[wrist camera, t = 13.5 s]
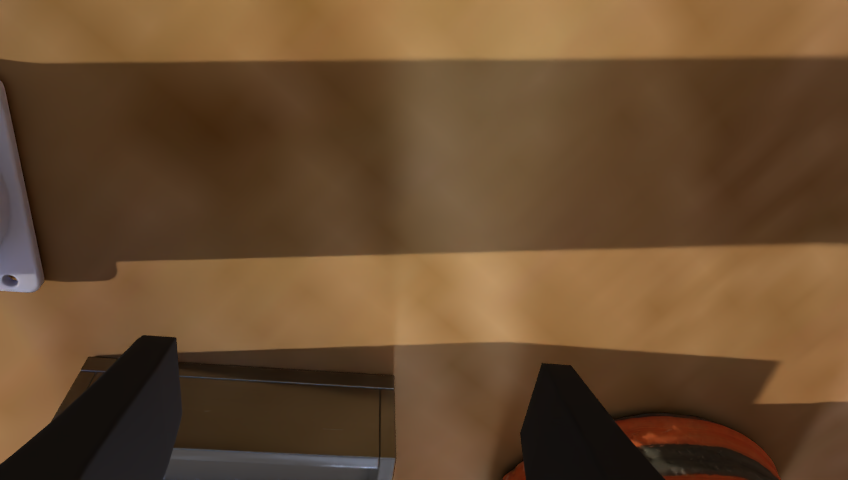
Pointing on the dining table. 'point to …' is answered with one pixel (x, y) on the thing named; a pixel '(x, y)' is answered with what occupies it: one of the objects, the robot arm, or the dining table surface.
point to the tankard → (690, 449)
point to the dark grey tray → (275, 423)
